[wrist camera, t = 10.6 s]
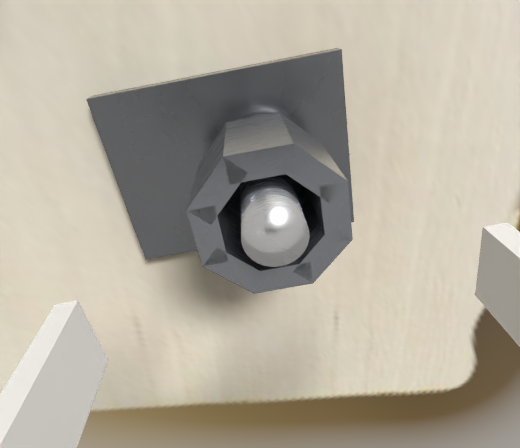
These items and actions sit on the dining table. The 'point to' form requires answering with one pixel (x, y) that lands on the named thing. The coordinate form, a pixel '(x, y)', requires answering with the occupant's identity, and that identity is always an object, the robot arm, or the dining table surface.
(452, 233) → the dining table surface
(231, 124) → the tube
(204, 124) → the shaft fixture
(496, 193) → the dining table surface
